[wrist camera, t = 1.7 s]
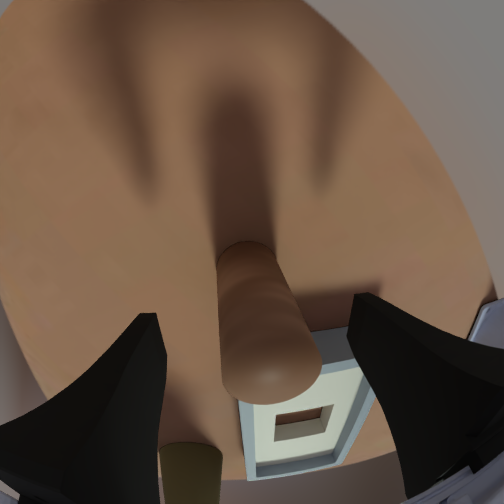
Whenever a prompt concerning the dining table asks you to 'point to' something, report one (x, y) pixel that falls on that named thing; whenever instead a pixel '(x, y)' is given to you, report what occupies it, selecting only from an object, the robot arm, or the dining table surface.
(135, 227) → the dining table surface
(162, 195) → the dining table surface
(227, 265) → the peg
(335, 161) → the dining table surface
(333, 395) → the box
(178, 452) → the cork
